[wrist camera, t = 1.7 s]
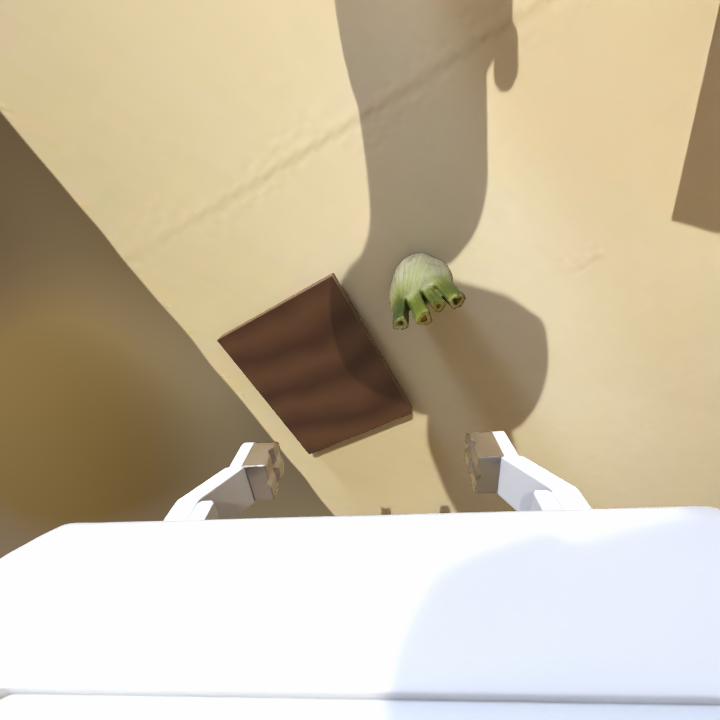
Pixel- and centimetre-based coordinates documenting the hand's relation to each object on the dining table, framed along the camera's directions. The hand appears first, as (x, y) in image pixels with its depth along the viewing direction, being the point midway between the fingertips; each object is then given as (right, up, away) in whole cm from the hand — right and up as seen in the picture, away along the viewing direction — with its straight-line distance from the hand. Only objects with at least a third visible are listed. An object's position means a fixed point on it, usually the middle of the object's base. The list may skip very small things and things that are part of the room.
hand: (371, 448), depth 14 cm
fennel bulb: (+6, +13, +21) cm, 26 cm away
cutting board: (-6, +2, +28) cm, 28 cm away
